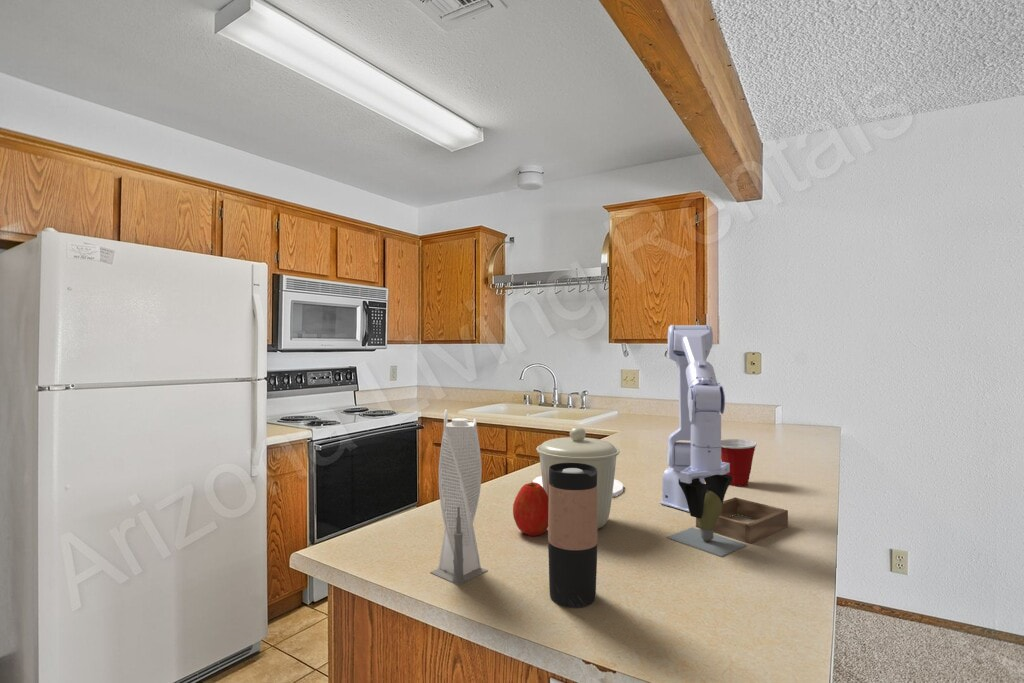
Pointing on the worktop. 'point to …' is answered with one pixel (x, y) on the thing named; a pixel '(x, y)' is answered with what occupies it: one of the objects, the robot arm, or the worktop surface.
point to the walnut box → (750, 532)
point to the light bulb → (709, 515)
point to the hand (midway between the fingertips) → (705, 513)
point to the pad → (714, 546)
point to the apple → (531, 509)
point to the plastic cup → (738, 459)
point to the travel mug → (572, 534)
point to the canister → (586, 453)
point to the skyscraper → (459, 500)
